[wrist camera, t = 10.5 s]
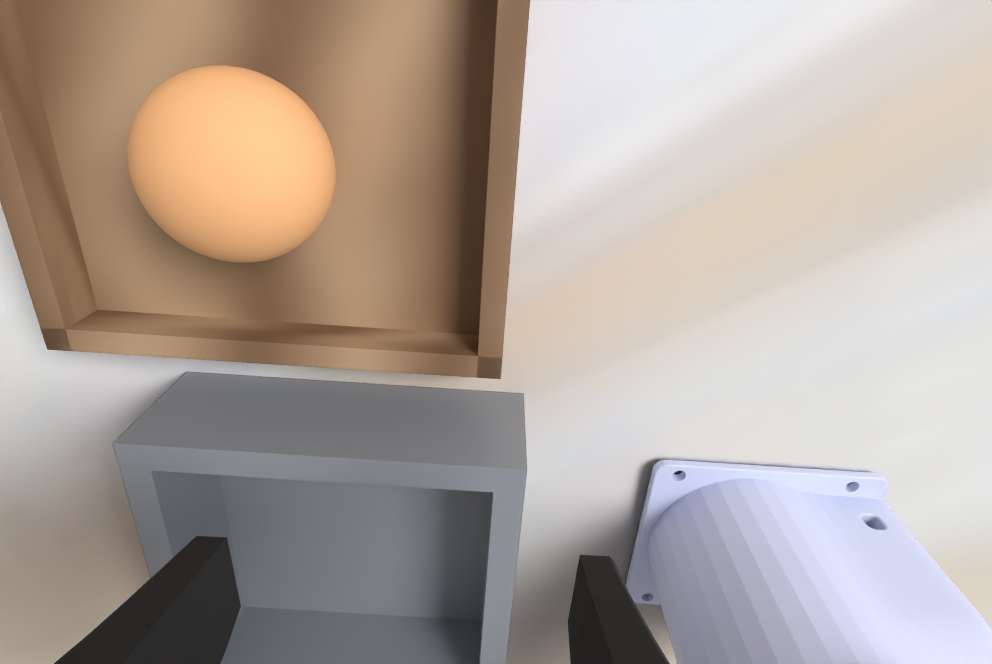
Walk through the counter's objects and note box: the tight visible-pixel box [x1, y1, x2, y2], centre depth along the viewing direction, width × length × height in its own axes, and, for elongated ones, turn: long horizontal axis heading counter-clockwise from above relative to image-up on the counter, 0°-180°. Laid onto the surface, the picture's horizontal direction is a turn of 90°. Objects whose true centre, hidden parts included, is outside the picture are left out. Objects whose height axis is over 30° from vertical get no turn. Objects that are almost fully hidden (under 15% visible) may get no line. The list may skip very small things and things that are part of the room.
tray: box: [0, 0, 530, 379], centre depth 17 cm, size 15×13×2 cm
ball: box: [127, 65, 336, 262], centre depth 15 cm, size 5×5×5 cm
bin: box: [112, 372, 527, 664], centre depth 23 cm, size 13×13×4 cm
